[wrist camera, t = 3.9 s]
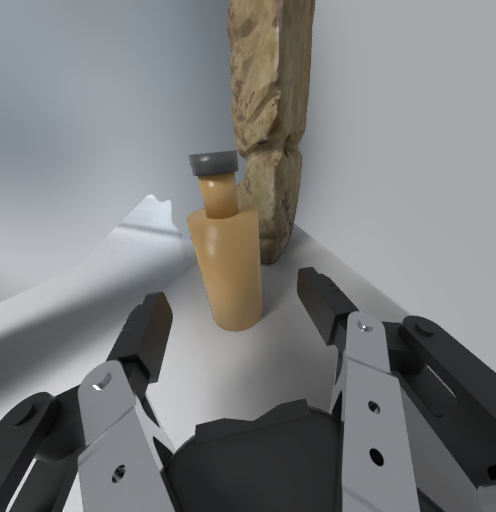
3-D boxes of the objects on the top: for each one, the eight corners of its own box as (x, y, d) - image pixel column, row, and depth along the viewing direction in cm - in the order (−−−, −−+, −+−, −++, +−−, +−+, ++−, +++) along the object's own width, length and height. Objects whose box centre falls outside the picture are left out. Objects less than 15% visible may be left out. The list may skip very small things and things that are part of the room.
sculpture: (256, 230, 38) (243, 10, 22) (300, 236, 34) (322, -28, 18) (224, 260, 29) (164, -78, 13) (279, 272, 25) (285, -192, 9)
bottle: (206, 330, 18) (151, 159, 10) (219, 291, 23) (188, 154, 15) (262, 332, 17) (250, 149, 9) (263, 291, 22) (256, 148, 14)
